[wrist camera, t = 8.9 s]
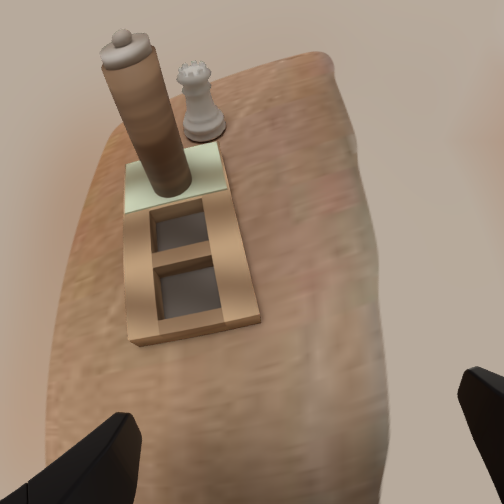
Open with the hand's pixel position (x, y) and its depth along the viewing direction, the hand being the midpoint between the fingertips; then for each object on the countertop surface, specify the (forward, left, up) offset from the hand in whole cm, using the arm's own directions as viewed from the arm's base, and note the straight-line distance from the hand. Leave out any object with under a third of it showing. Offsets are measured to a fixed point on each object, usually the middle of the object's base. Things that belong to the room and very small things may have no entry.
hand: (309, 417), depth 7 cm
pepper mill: (+19, +5, -11) cm, 23 cm away
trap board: (+15, +5, -14) cm, 21 cm away
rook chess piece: (+28, +1, -14) cm, 31 cm away
